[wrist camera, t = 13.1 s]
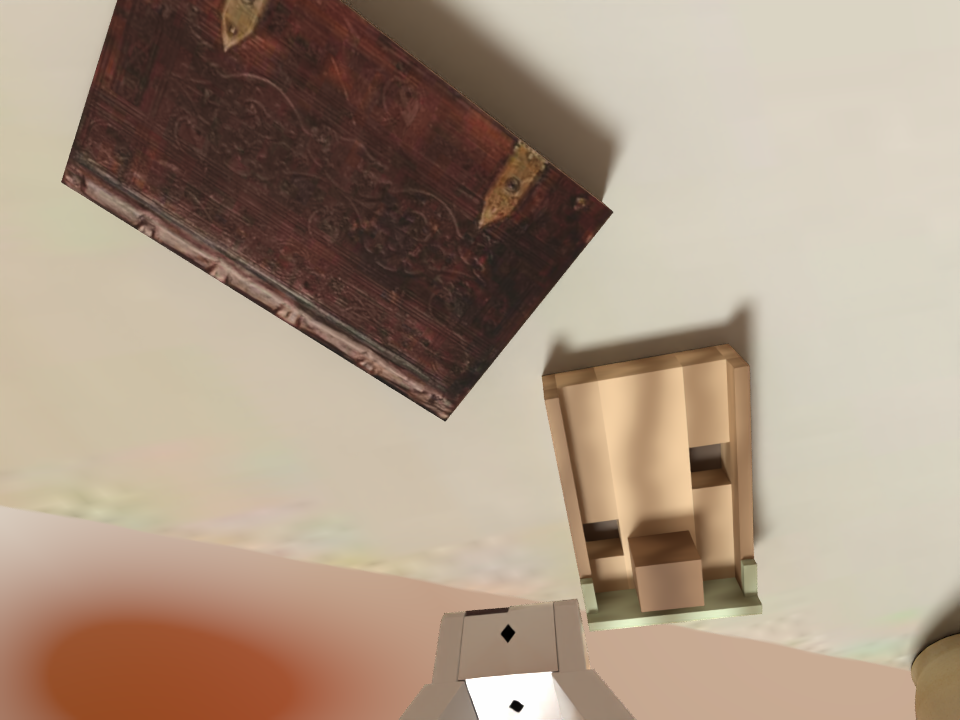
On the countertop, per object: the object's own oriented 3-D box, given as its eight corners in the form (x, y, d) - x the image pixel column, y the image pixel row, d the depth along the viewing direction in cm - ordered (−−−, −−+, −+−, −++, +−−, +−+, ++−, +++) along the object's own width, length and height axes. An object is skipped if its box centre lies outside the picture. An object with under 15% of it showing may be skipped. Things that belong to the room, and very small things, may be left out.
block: (688, 530, 44) (701, 559, 41) (692, 574, 46) (704, 605, 43) (627, 537, 44) (635, 567, 42) (633, 581, 46) (641, 612, 43)
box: (728, 343, 39) (758, 375, 34) (736, 563, 48) (762, 613, 43) (541, 375, 41) (545, 410, 36) (582, 581, 50) (589, 631, 45)
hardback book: (110, 178, 37) (54, 187, 33) (212, -101, 31) (160, -139, 26) (449, 394, 43) (442, 427, 39) (600, 200, 36) (613, 212, 32)
